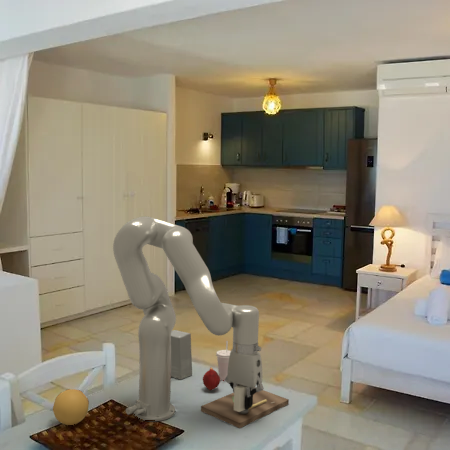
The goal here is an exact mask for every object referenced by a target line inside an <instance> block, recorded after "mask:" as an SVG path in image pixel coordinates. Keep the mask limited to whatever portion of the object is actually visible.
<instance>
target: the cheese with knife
mask: <svg viewBox="0 0 450 450" xmlns="http://www.w3.org/2000/svg"><path fill="white" fill-rule="evenodd" d="M246 396H247V390H246V386H243V385H239V386H236V387H234V410H235V411H238V413H240V414H247V413H248V409H247V410H246V409H245V397H246ZM266 401H267V400H266V399H265V400H263V401H260V402H258V403H256V404H253V405H252V407H250V408H253V407H255V406H257V405H260V404H262V403H264V402H266ZM250 408H249V409H250Z"/></svg>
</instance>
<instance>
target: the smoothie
mask: <svg viewBox="0 0 450 450" xmlns="http://www.w3.org/2000/svg"><path fill="white" fill-rule="evenodd" d="M228 342H229V341H228V340H226V341H225V344H226V345H225V349H221V350H220V349H219V350H217V351H216V353H215V354H216V355H215V356H216V357H217V358H216V359H217V368H218V369H217V370H218V371H217V372H218V375H219V377H220V381H222V380H225V378H226V377H227V375H228V362H229V357H230V353H231V349H228V346H229V345H228V344H229V343H228Z"/></svg>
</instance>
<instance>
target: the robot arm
mask: <svg viewBox="0 0 450 450" xmlns="http://www.w3.org/2000/svg"><path fill="white" fill-rule="evenodd" d="M193 239H194V238H193V235H192V233H191V231H190V230H189V229H187V228H186V227H185V226H184V227H183V226H181V225H177V224H174V223H171V222H168V221H164V220H161V219H157V218H155V217H152V216H146V215H145V216H139V217H136V218H133V219H130V220H129V221H127V222H126V223H124V225H122V227H121V228H120V229H119V230H118V231H117V233H116V234H115V237H114V240H113V244H112V245H113V246H112V252H113V256H114V260H115V262H116V265H117V268H118V269H119V273H120V277H121V279H122V281H123V284H124V287H125V290H126V292H127V295H128V298H129V301H130V303H131V305H132V306H134V307H135V308H136V309H138V310H142V311H143V315H144V316H143V317H142V319H141V320H140V323H139V326H138V329H137V331H138V332H137V333H138V346H139V366H138V367H139V370H138V371H139V373H138V374H139V381H138V382H139V383H138V385H139V387H138V399H136V400H135V404H134V405H132V406H129V407H126V408H125V413H126V414H127V415H134V414H135V415H134V416H135V417H136V416H137V417H138V419H139V418H140V419H139V420H141V419H143V420H142V421H145V420H155V421H154V422H161V421H165V420H168V419H170V418H172V417H173V416H175V413H176V407H175V406H174V404H172V403H171V390H172V389H171V385H172V382H171V381H172V377H171V332H172V331H173V330H174V327H175V325H176V323H177V322H176V321H177V317H176V312H175V310H174V309H175V308H174V306H173V303H172V301H171V299H170V295H169V292H168V290H167V287H166V284H165V283H164V281H163V280H162V278H161V277H160V276H159V275H158V274H157V273H156V274H155V273H153V272H151V270H150V266H149V264H148V262H147V259H146V256H145V255H144V254H143V248H144V246H145V247H146V245H151V246H153V247H156V248H160V249H162V251H163V252H164V254H165V256H166V257H167V259H168V260H169V262H170V263H171V266H172V267H173V268H174V271H175V272H176V273H177V275H178V277H179V279H180V280H181V282H182V284H183V285H184V287H185V290H186V293H187V294H188V297H189V299H190V302H191V303H192V305H193V307H194V309H195V311H196V313H197V315H198V317H199V318H200V320H201V321H202V323H203V324H204V326H205V328H206V329H207V331H208V332H210V333H211V334H212V335H215V336H220V337H221V336H225V335H226V334H228V333H229V332H230V331H231V329H232V349H230V351H231V353H230V357H229V362H228V375H227V377H226V378H225V382H226V383H227V384H228V385H229V387H230V388H231V389H232V393H234V387H236V386H239V385H243V386H246V390H247V396H246V397H245V409H246V410H247V409H249V408H250V407H252V405H253V395H254V394H255V393H256V392H259V391H262V390H264V386H263V362H262V357H261V356H262V355H261V351H262V347H261V346H259V319H260V311H259V309H258V308H257V307H256V306H253V305H250V304H249V305H248V304H242V305H241V304H240V305H237V304H231V303H226V302H221V301H220V298H219V297H218V295H217V293H216V290H215V288H214V285H213V281H212V277H211V273H210V270H209V268H208V266H207V265H206V263H205V261H204V260H203V258H202V256H201V254H200V253H199V251H198V250H197V248H196V247H195V245H194V242H193ZM255 387H256V388H255ZM137 417H136V418H137Z"/></svg>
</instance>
